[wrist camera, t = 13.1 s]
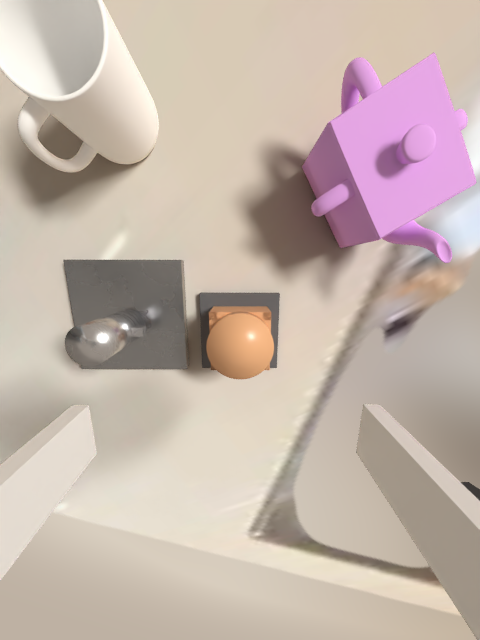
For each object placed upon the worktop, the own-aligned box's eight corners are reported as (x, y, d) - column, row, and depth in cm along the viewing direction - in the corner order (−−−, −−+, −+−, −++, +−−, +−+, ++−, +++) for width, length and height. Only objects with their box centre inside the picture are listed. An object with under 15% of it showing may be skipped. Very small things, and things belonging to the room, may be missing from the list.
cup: (175, 118, 24) (131, 13, 14) (117, 210, 26) (43, 174, 16) (111, 59, 23) (13, -100, 13) (55, 160, 25) (-65, 89, 15)
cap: (212, 305, 28) (205, 315, 22) (267, 305, 28) (275, 314, 22) (214, 357, 29) (207, 379, 24) (266, 357, 29) (273, 379, 24)
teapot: (432, 236, 27) (544, 218, 17) (329, 295, 29) (377, 308, 19) (374, 83, 24) (471, -52, 14) (261, 159, 25) (274, 87, 15)
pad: (203, 365, 31) (202, 367, 30) (200, 292, 28) (199, 293, 28) (275, 365, 31) (276, 367, 30) (278, 292, 28) (279, 293, 28)
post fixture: (87, 364, 31) (24, 404, 22) (70, 260, 27) (-12, 255, 18) (188, 365, 31) (167, 404, 22) (183, 260, 27) (155, 255, 19)
